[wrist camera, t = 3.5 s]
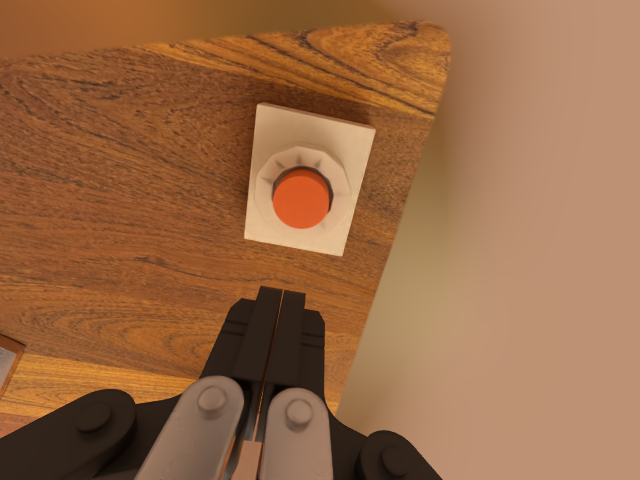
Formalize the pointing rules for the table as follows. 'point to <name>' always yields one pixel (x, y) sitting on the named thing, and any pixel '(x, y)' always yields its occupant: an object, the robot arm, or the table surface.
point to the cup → (248, 459)
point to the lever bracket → (8, 360)
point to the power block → (311, 154)
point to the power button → (301, 199)
